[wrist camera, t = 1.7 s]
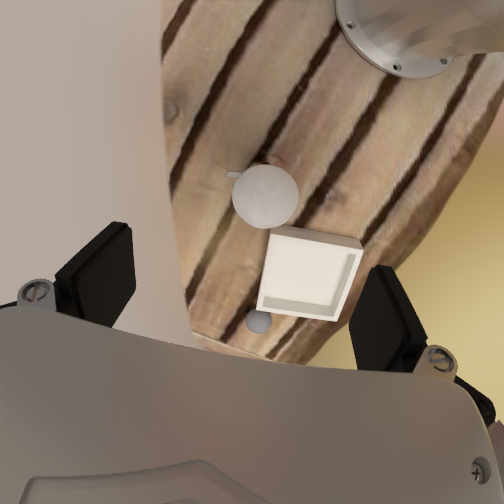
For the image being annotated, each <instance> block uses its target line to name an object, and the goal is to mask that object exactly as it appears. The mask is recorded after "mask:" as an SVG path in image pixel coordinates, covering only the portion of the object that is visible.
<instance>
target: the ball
mask: <svg viewBox="0 0 504 504" xmlns="http://www.w3.org/2000/svg"><path fill="white" fill-rule="evenodd" d="M271 322H272V319H271V316H270V314H269V312H266V311H259V310H256V308H255V309H252V310H251V311H250V312H249V313H248V314H247V316H246V325H247V327H248V329H249V330H250V331H252V332H254V333H264V332H266V331H267V330H268V329H269V328H270V326H271Z"/></svg>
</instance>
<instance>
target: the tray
mask: <svg viewBox="0 0 504 504" xmlns="http://www.w3.org/2000/svg"><path fill="white" fill-rule="evenodd" d="M363 251H364V250H363V248H362V246H361V244H360V242H359V240H358V239H356V238H351V237H345V236H340V235H335V234H330V233H324V232H319V231H313V230H308V229H302V228H297V227H291V226H285V225H280V226H278V227H273V228H270V234H269V239H268V244H267V250H266V255H265V260H264V266H263V271H262V276H261V281H260V286H259V292H258V297H257V305H256V310H259V311H266V312H272V313H278V314H285V315H292V316H299V317H306V318H313V319H321V320H329V321H337V320H338V317H339V315H340V312H341V310H342V308H343V305H344V303H345V300H346V298H347V295H348V292H349V290H350V287H351V285H352V282H353V279H354V277H355V274H356V271H357V268H358V266H359V263H360V260H361V257H362V254H363Z"/></svg>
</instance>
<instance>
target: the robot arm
mask: <svg viewBox="0 0 504 504" xmlns="http://www.w3.org/2000/svg"><path fill="white" fill-rule="evenodd" d="M335 7H336V16H337V19H338V22H339V25H340V27H341V29H342V31H343V33H344V35H345V37H346V38H347V40H348V41H349V42H350V44H351V45H352V47H353V48H354V49H355V50H356V51H357V52H358V53H359V54H360V55H361V56H362V57H363V58H364V59H366V60H367V61H368V62H370V63H371V64H372V65H373V66H375V67H377V68H379V69H380V70H382V71H384V72H386V73H389V74H391V75H394V76H397V77H401V78H406V79H423V78H429V77H432V76H436V75H438V74H439V73H441V72H443V71H444V70H445V69H446V68H447V67H448V66H449V65H450V64H451V62H452V60H453V58H454V57H456V56H463V55H471V54H480V53H489V52H502V51H504V0H336V2H335ZM347 25H350V26H351V29H350V28H348V27H347ZM440 60H441V61H440ZM393 65H394V66H395V67H396V70H394V68H393ZM55 278H56V281H55V282H54V283H52V282H51V281H49V280H47V279H35V280H32V281H29V282H28V283H26V284H24V286H22V287H21V289H20V290H19V292H18V296H17V301H15V302H12V303H8V304H5V305H1V306H0V504H504V425H503V424H502V423H501V421H500V420H498V421H497V422H495V416H496V412H495V408H494V406H493V403H492V401H491V400H490V399H489V398H487V397H486V396H485V395H483V394H482V393H481V392H479V391H478V390H476V389H475V388H474V387H472V386H470V385H469V384H468V383H466V382H465V381H464V380H462V379H461V378H459V377H458V376H457V375H456V373H457V369H458V365H457V361H456V359H455V357H454V356H453V355H452V353H451V352H450V351H448V350H447V349H446V348H444V347H442V346H438V345H430V346H428V345H427V343H426V340H427V338H428V337H427V335H426V333H425V330H424V328H423V326H422V325H421V322H420V320H419V318H418V316H417V314H416V312H415V310H414V308H413V306H412V304H411V302H410V300H409V298H408V297H407V294H406V292H405V291H404V289H403V287H402V285H401V283H400V281H399V279H398V278H397V276H396V274H395V272H394V270H393V269H392V267H390V266H384V265H376V267H375V268H374V267H373V268H371V270H370V272H369V275H368V277H367V280H366V282H365V285H364V288H363V290H362V292H361V295H360V297H359V300H358V302H357V305H356V307H355V309H354V312H353V314H352V316H351V318H350V321H349V331H350V335H351V340H352V345H353V349H354V354H355V359H356V364H357V369H358V370H352V369H338V368H326V367H316V366H306V365H297V364H288V363H280V362H273V361H265V360H258V359H252V358H245V357H239V356H233V355H227V354H222V353H216V352H211V351H206V350H201V349H196V348H191V347H186V346H182V345H177V344H173V343H168V342H164V341H160V340H156V339H152V338H148V337H144V336H140V335H136V334H132V333H128V332H124V331H121V330H117V329H114V328H112V326H113V325H114V323H115V322H116V320H117V319H118V317H119V315H120V314H121V312H122V311H123V309H124V307H125V306H126V304H127V303H128V301H129V300H130V298H131V297H132V295H133V294H134V292H135V289H136V279H135V268H134V257H133V242H132V230H131V228H130V227H128V224H127V223H121V222H115V221H113V222H112V223H110V224H109V225H108V226H107V227H106V228H105V229H104V230H102V231H101V232H100V233H99V234H98V235H97V236H96V237H94V238H93V239H92V240H91V241H90V242H89V243H88V244H87V245H86V246H84V248H82V249H81V250H80V251H79V252H78V253H77V254H76V255H75V256H74V257H73V258H72V259H70V261H68V262H67V263H66V264H65V265H64V266H63V267H62V268H61V269H60V270H59V271H58V272H57V273H56V274H55Z"/></svg>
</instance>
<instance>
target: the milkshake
mask: <svg viewBox="0 0 504 504" xmlns="http://www.w3.org/2000/svg"><path fill="white" fill-rule="evenodd" d="M225 177H233V178H238V179H237V181H236V182H235V184H234V187H233V191H232V200H233V205H234V208H235V210H236V212H237V213H238V215H239V216H240V217H241V218H242V219H243V220H244V221H245V222H246V223H248V224H249V225H251V226H253V227H256V228H260V229H266V228H273V227H278V226H280V225H282V224H284V223H285V222H286V221H288V220H289V219H290V218H291V217H292V215H293V214H294V213H295V211H296V209H297V206H298V202H299V191H298V187H297V185H296V183H295V181H294V179H293V178H292V177H291V175H290V173H289V171H288V169H287V167H286V165H285V164H284V163H283V162H282V161H281V160H280V159H279V158H278V157H277V156H271V155H265V156H263V157H261V158H259V159H257V160H256V161H255V162H254V163H253V164H252V165H251V166H250V167H249V168H248V169H247V170H246V171H245V172H243V173H240V172H232V171H229V172H228V173H227V174H226V175H225Z"/></svg>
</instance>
